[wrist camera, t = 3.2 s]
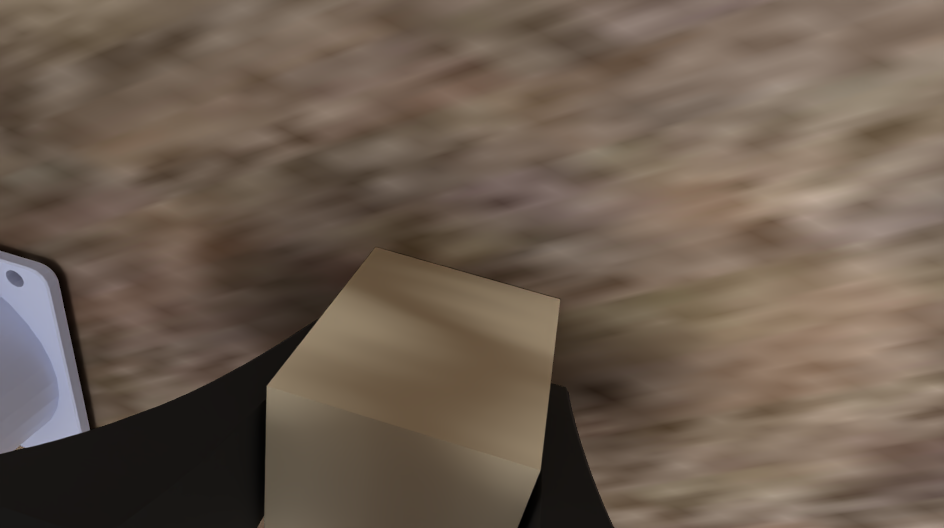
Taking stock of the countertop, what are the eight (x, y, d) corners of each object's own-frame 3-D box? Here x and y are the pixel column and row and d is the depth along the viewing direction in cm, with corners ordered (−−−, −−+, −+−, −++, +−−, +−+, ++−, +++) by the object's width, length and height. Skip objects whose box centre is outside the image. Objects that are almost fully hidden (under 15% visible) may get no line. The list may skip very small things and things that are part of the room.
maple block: (357, 385, 15) (263, 549, 11) (375, 247, 13) (266, 385, 9) (513, 433, 15) (479, 621, 11) (560, 299, 13) (540, 470, 9)
